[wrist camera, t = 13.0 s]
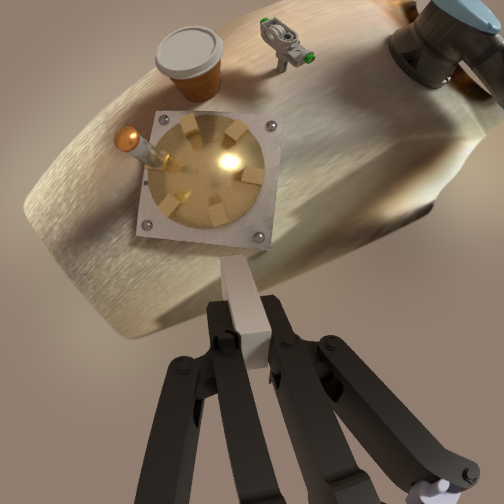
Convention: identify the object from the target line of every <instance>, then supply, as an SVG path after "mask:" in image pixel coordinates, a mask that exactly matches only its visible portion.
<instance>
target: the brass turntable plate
mask: <svg viewBox="0 0 504 504" xmlns="http://www.w3.org/2000/svg"><path fill="white" fill-rule="evenodd" d="M179 119H180V122H179V123H178V124H176V125H175V126H173V127H172V128H171V129H169V130H168V131H167V132H166V133H165V134H164V135H163V136H162V137H161V139H160V140H159V141H158V143H157V144H156V146H155V147H154V146H153V145H152V144H151V143H149V142H148V141H147V140H146V139H145V138H143V137H142V136H141V135H140V134H139V132H138V131H137V130H136V129H134V128H133V127H131V126H125V127H123V128H121V129H120V130H119V131H118V132H117V134H116V136H115V139H114V143H115V146H116V147H117V148H118V149H120V150H122V151H123V152H127V153H128V154H130V155H132V156H133V157H135V158H136V159H138V160H140V161H141V162H143V163H144V164H145V166H144V168H145V169H147V170H148V185H149V189H150V193H151V195H152V198H153V200H154V202H155V203H156V205H157V206H158V207H157V209H158V210H159V211H160V212H161V213H162V214H163V215H164V216H165V217H166V218H169V219H171V220H173V221H174V222H176V223H178V224H180V225H183V226H186V227H190V228H197V229H215V228H220V227H223V226H226V225H229V224H231V223H233V222H235V221H236V220H238V219H239V218H241V217H242V216H243V215H245V214H246V213H247V212H248V211H249V210H250V208H251V207H252V206H253V205H254V203H255V202H256V200H257V198H258V196H259V194H260V191H261V189H262V185H263V180H264V174H265V162H264V156H263V152H262V149H261V147H260V145H259V143H258V141H257V139H256V138H255V136H254V135H253V134H252V133H251V132H250V131H249V126H247V125H246V124H245V123H243V122H242V121H241V120H239V119H238V118H237V119H236V120H233V119H231V118H229V117H225V116H221V115H209V114H207V115H199V116H194V114H193V113H190V114H188V115H185V116H182V117H180V118H179Z"/></svg>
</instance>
